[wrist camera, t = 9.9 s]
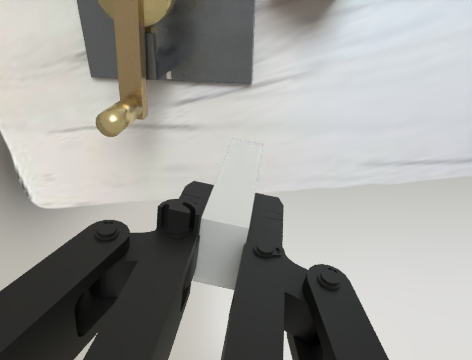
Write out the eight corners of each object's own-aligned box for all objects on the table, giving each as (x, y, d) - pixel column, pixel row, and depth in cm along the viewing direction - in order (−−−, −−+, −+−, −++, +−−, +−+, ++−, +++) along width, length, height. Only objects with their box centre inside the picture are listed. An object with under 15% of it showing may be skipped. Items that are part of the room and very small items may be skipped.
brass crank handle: (104, -100, 32) (28, -138, 23) (182, -92, 32) (138, -129, 22) (119, 100, 42) (70, 131, 32) (179, 107, 41) (148, 142, 32)
